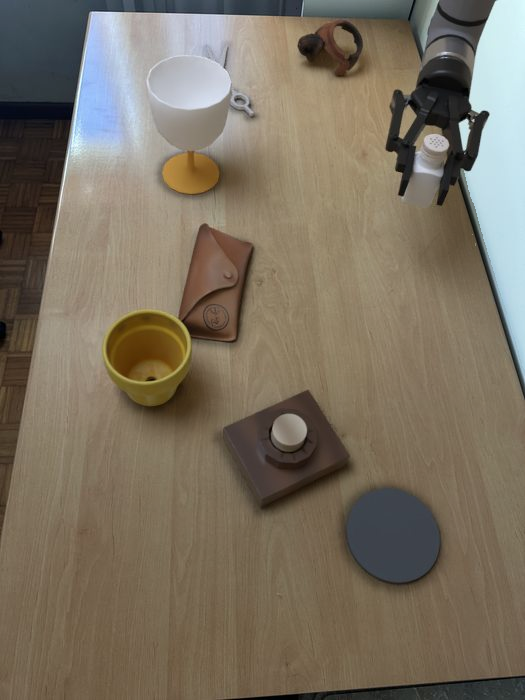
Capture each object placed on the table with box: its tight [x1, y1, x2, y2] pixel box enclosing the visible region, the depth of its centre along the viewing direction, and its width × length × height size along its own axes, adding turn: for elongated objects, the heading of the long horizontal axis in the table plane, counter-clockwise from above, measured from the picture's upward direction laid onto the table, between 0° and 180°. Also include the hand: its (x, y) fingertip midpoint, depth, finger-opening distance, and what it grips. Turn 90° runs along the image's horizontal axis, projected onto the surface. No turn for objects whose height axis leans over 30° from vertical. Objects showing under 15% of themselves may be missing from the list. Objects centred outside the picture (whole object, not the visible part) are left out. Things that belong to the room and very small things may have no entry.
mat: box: [345, 487, 441, 585], centre depth 77 cm, size 11×11×1 cm
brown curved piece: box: [296, 19, 364, 76], centre depth 120 cm, size 12×10×8 cm
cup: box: [145, 54, 233, 195], centre depth 98 cm, size 12×12×17 cm
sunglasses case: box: [177, 222, 254, 343], centre depth 93 cm, size 18×7×7 cm, turn 174°
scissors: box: [205, 42, 255, 118], centre depth 117 cm, size 11×1×20 cm
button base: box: [221, 389, 351, 508], centre depth 80 cm, size 12×10×5 cm
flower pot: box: [101, 308, 193, 407], centre depth 81 cm, size 10×10×10 cm
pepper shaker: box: [401, 133, 449, 209], centre depth 86 cm, size 4×4×10 cm
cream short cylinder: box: [271, 414, 307, 452], centre depth 77 cm, size 4×4×2 cm
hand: (422, 192), depth 82 cm, fingers closed on pepper shaker, 4 cm apart
